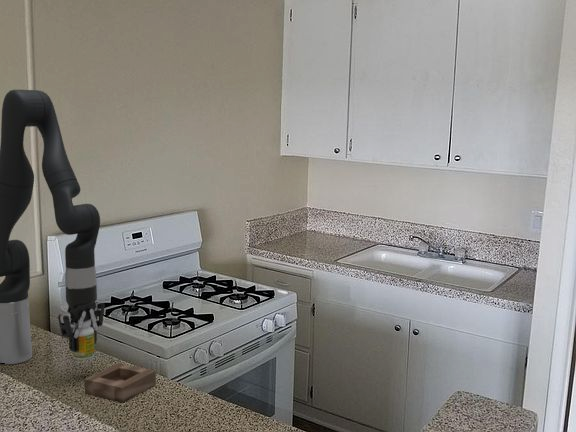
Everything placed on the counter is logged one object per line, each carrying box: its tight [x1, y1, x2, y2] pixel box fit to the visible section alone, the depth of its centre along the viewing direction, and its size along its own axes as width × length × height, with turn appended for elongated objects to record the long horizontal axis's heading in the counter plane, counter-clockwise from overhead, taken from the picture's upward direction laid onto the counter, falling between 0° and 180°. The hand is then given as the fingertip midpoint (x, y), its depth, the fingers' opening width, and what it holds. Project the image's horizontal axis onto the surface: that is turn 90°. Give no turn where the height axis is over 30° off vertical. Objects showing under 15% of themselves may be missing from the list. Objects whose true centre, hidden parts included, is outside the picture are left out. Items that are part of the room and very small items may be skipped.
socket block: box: [83, 362, 157, 403], centre depth 164 cm, size 12×12×4 cm
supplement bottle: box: [72, 320, 96, 361], centre depth 170 cm, size 5×5×10 cm
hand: (83, 347), depth 171 cm, fingers closed on supplement bottle, 5 cm apart
